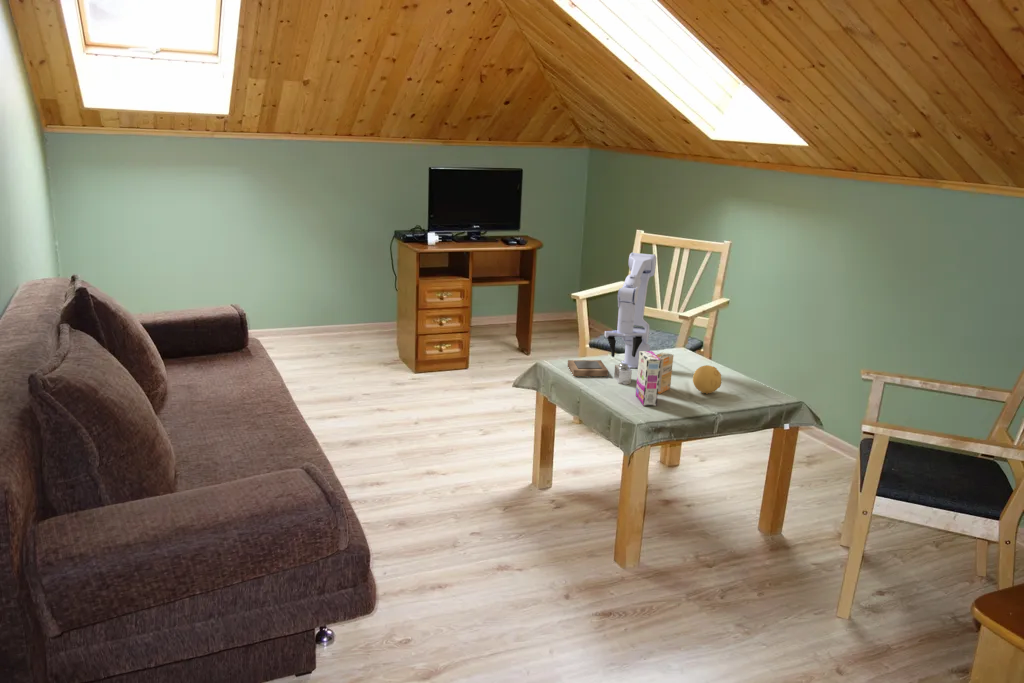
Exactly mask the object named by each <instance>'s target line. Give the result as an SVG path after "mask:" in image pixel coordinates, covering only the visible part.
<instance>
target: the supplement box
mask: <svg viewBox="0 0 1024 683" xmlns="http://www.w3.org/2000/svg"><path fill="white" fill-rule="evenodd" d="M655 355H656V356H657V357H658V358H659V359H660V360H661V365H660V375H659V384H658V395H661V394H662V393H665V392H666V391H669V390H670V389H671V385H672V384H671V383H672V375H673V374H672V373H673V365H674V354H673V353H669V352H660V353H657V354H655Z"/></svg>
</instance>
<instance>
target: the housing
mask: <svg viewBox="0 0 1024 683" xmlns="http://www.w3.org/2000/svg"><path fill="white" fill-rule="evenodd" d="M613 373H614V375H613V378H614V380H615V379H616V380H615V381H616V383H617V384H618V385H619V384H622V385H628V384H629V385H630V384H631V383H632V368H629V367H628V364H625V363H622V362H620V363H619V364H614V372H613Z"/></svg>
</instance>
